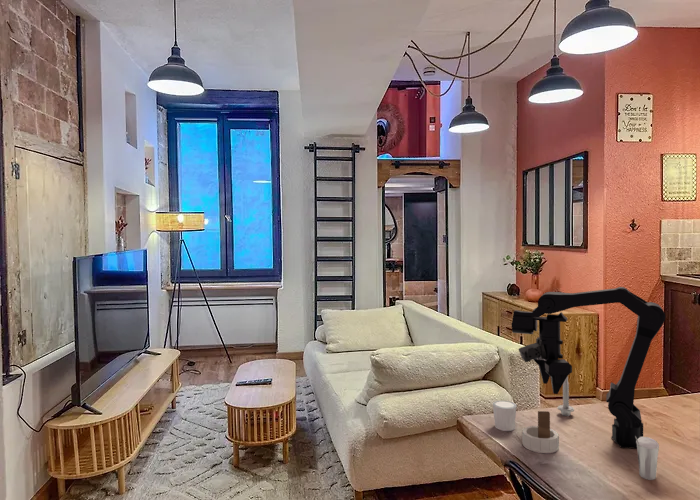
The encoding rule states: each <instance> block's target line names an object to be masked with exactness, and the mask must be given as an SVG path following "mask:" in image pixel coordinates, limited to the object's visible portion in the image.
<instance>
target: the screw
mask: <svg viewBox="0 0 700 500" xmlns="http://www.w3.org/2000/svg"><path fill="white" fill-rule="evenodd" d="M569 387H570V384H569V375H568V376H567V378H566V379H565V381H564V383H563V385H562V404H560V405H558V406H557V409H558V411H560V415H562V416H564V417H569V416H571V414H572V413H573V412H575V408H574V407H573V406H571V405H570V392H569V391H570V388H569Z"/></svg>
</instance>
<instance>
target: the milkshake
mask: <svg viewBox="0 0 700 500" xmlns="http://www.w3.org/2000/svg"><path fill="white" fill-rule="evenodd" d="M635 438H636V444H637V448H636V450H637V452H636V453H637V461H638V462H637V464H638V473H639V474H638V475H639V476H640V477H641V478H642V479H644V480H647V481H648V480H649V481H654V480H656V479H657V470H658V469H657V468H658V456H659V448H660V445H659V443H658V441H657V440H655V439H654V438H651V437H649V436H643V437H640V438H638V439H637V437H636V436H635Z"/></svg>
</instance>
